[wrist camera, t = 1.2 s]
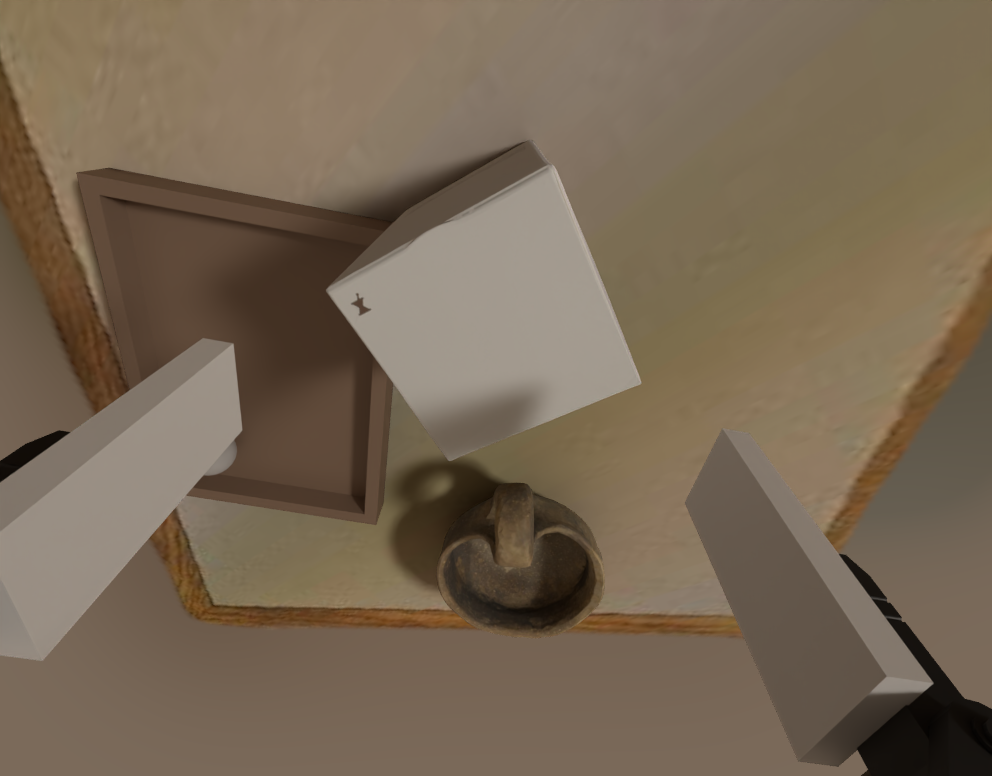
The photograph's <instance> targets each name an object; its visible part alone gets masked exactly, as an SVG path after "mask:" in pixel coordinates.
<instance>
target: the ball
mask: <svg viewBox="0 0 992 776" xmlns="http://www.w3.org/2000/svg"><path fill="white" fill-rule="evenodd" d="M236 454H237V446H236V443H235V441H233V442H232V443H231V444H230V445H229V446H228V447H227V449H226V450H225V451H224V452H223V453H222V454H221V456H220V457H219V458H218V459H217V460H216V461H215V462H214V464H213V465H212V466H211V467H210V468H209V469H208V471H207V472H206V473H205V474H204V475H206V476H210V475H216V474H219V473H221V472H223V471H225V470H226V469H228V468H229V467H230V466H231V465H232V463H233V462H234V460H235V458H236Z"/></svg>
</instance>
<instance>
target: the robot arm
mask: <svg viewBox="0 0 992 776" xmlns="http://www.w3.org/2000/svg"><path fill="white" fill-rule="evenodd" d="M241 431H242V421H241V412H240V402H239V392H238V383H237V373H236V363H235V354H234V344H233V343H228V342H223V341H217V340H211V339H205V338H202V339H201V340H200V341H198V342H197V343H195V344H194V345H193V346H191V347H190V348H188V349H187V350H186V351H184V352H183V353H181V354H180V355H179V356H177V357H176V358H174V359H173V360H172V361H170V362H169V363H167V364H166V365H165V366H163V367H162V368H160V369H159V370H158V371H156V372H155V373H153V374H152V375H150V376H149V377H148V378H146V379H145V380H143V381H142V382H141V383H139V384H138V385H136V386H135V387H134V388H132V389H131V390H129V391H128V392H127V393H125V394H124V395H122V396H121V397H120V398H118V399H117V400H115V401H114V402H113V403H111V404H110V405H108V406H107V407H106V408H104V409H103V410H101V411H100V412H99V413H97V414H96V415H94V416H93V417H92V418H90V419H89V420H87V421H86V422H85V423H83V424H82V425H80V426H79V427H77V428H76V429H75V430H73V431H72V432H66V431H56V432H54V433H52V434H49V435H47V436H44V437H42V438H39V439H37V440H34V441H32V442H29V443H27V444H25V445H24V446H22V447H20V448H19V449H17V450H16V451H15V452H13V453H11V454H10V455H8V456H7V457H5V458H4V459H3V460H1V461H0V655H2V656H10V657H17V658H25V659H32V660H40V661H43V660H44V658H45V657H46V656H47V655H48V654H49V653H50V652H51V650H52V649H53V648H54V647H55V646H56V645H57V643H58V642H59V641H60V640H61V639H62V638H63V637H64V635H65V634H66V633H67V632H68V631H69V630H70V628H71V627H72V626H73V625H74V624H75V623H76V621H77V620H78V619H79V618H80V617H81V616H82V615H83V614H84V612H85V611H86V610H87V609H88V608H89V607H90V605H91V604H92V603H93V602H94V600H96V598H97V597H98V596H99V595H100V594H101V593H102V591H103V590H104V589H105V588H106V587H107V586H108V585H109V584H110V582H111V581H112V580H113V579H114V578H115V577H116V575H117V574H118V573H119V572H120V571H121V570H122V569H123V567H124V566H125V565H126V564H127V563H128V562H129V560H130V559H131V558H132V557H133V556H134V555H135V554H136V552H137V551H138V550H139V549H140V548H141V547H142V545H143V544H144V543H145V542H146V541H147V540H148V539H149V537H150V536H151V535H152V534H153V533H154V532H155V530H156V529H157V528H158V527H159V526H160V525H161V524H162V522H163V521H164V520H165V519H166V518H167V517H168V515H169V514H170V513H171V512H172V511H173V510H174V509H175V507H176V506H177V505H178V504H179V503H180V502H181V501H182V499H183V498H184V497H185V496H186V495H187V494H188V492H189V491H190V490H191V489H192V488H193V487H194V486H195V484H196V483H197V482H198V481H199V480H200V479H201V477H202V476H203V475H204V474H205V473H206V472H207V471H208V469H209V468H210V467H211V466H212V465H213V464H214V462H215V461H216V460H217V459H218V458H219V457H220V456H221V454H222V453H223V452H224V451H225V450H226V449H227V447H228V446H229V445H230V444H231V443H232V442H233V441H234V439H235V438H236V437H237V436H238V435H239V434H240V432H241ZM685 504H686V507H687V509H688V511H689V513H690V516H691V518H692V520H693V523H694V525H695V527H696V529H697V532H698V534H699V536H700V538H701V541H702V543H703V545H704V548H705V550H706V552H707V554H708V557H709V559H710V561H711V564H712V566H713V568H714V570H715V573H716V575H717V577H718V580H719V582H720V584H721V586H722V589H723V591H724V593H725V596H726V598H727V600H728V602H729V605H730V607H731V609H732V611H733V614H734V616H735V618H736V621H737V623H738V625H739V627H740V630H741V632H742V634H743V637H744V639H745V641H746V643H747V645H748V648H749V650H750V652H751V655H752V657H753V659H754V661H755V664H756V666H757V669H758V670H759V673H760V675H761V678H762V680H763V682H764V684H765V687H766V689H767V691H768V694H769V696H770V698H771V700H772V703H773V705H774V707H775V710H776V712H777V714H778V716H779V719H780V721H781V723H782V726H783V728H784V730H785V732H786V735H787V737H788V739H789V741H790V744H791V746H792V748H793V751H794V753H795V755H796V757H797V760H798V761H800V762H807V763H815V764H822V765H830V766H837V767H838V766H839V765H840V764H842V763H843V762H844V761H845V760H846V759H847V758H849V757H850V756H851V755H852V754H853V753H854V752H856V751H857V750H858V752H859V754H860V755H861V757H862V759H863V761H864V763H865V765H866V766H867V768H868V770H867V771H866V772H865V773H864V774H862V775H861V776H992V709H991V708H989V707H987V706H985V705H983V704H981V703H979V702H975V701H971V700H967V699H964V697H963V696H962V695H961V694H960V693H959V691H958V690H957V689H956V687H955V686H954V685H953V683H952V682H951V681H950V680H949V678H948V677H947V676H946V674H945V673H944V672H943V671H942V670H941V668H940V667H939V665H938V664H937V663H936V661H935V660H934V659H933V658H932V656H931V655H930V654H929V652H928V651H927V650H926V649H925V647H924V646H923V644H922V643H921V642H920V641H919V640H918V638H917V637H916V636H915V634H914V633H913V632H912V630H911V629H910V628H909V626H908V625H907V624H906V623H905V622H902V621H901V618H902V617H901V616H900V615H899V613H898V612H897V611H896V609H895V608H894V607H893V606H892V604H891V603H887V598H886V596H885V595H884V594H883V593H882V591H881V590H880V589H879V587H878V586H877V585H876V583H875V582H874V581H873V580H872V579H871V577H870V576H869V575H868V574H867V573H866V572H865V571H863V570H862V569H861V568H860V567H859V566H858V565H857V564H856V563H854V562H853V561H852V560H851V559H850V558H849V557H848V556H846V555H843V554H838V553H837V551H836V550H835V549H834V547H833V546H832V545H831V543H830V542H829V541H828V539H827V538H826V537H825V535H824V534H823V532H822V531H821V530H820V528H819V527H818V526H817V524H816V523H815V522H814V520H813V519H812V518H811V516H810V515H809V513H808V512H807V511H806V509H805V508H804V507H803V505H802V504H801V503H800V501H799V500H798V499H797V497H796V496H795V495H794V493H793V492H792V490H791V489H790V488H789V486H788V485H787V484H786V482H785V481H784V480H783V478H782V477H781V476H780V474H779V473H778V471H777V470H776V469H775V467H774V466H773V465H772V463H771V462H770V461H769V459H768V458H767V457H766V455H765V454H764V452H763V451H762V450H761V448H760V447H759V446H758V444H757V443H756V442H755V440H754V439H753V438H752V436H751V435H750V433H746V432H740V431H735V430H729V429H723V428H722V430H721V432H720V434H719V436H718V438H717V440H716V442H715V444H714V446H713V448H712V450H711V452H710V454H709V456H708V458H707V460H706V462H705V464H704V466H703V468H702V470H701V472H700V474H699V476H698V478H697V480H696V481H695V483H694V485H693V487H692V489H691V491H690V493H689V495H688V497H687V499H686V501H685Z"/></svg>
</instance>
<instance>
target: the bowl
mask: <svg viewBox="0 0 992 776" xmlns="http://www.w3.org/2000/svg"><path fill="white" fill-rule="evenodd" d="M436 578H437V583H438V588H439V591H440V593H441V595H442V597H443V599H444V600H445V602H446V603H447V605H448V606H449V607H450V608H451V609H452V610H453V611H454V612H455V613H457V614H458V615H459V616H460V617H461V618H463V619H464V620H465V621H466V622H468V623H469V624H471V625H473V626H474V627H476V628H478V629H481V630H485V631H487V632H490V633H494V634H500V635H505V636H512V637H527V638H541V637H551V636H556V635H559V634H561V633H563V632H565V631H567V630H570V629H571V628H572V627H574V626H575V625H577V624H579V623H580V622H581V621H582V620H584V619H585V618H586V617H587V616H588V615H590V614H591V613H592V612H593V611H594V610H595V609H596V607H597V606H598V605H599V603H600V601H601V600H602V597H603V595H604V588H605V576H604V566H603V563H602V556H601V552H600V550H599V548H598V547H597V544H596V541H595V538H594V536H593V534H592V531H591V530H590V528H589V527H588V526H587V524H586V523H585V522H584V521H583V520H582V519H581V518H580V517H579V516H578V515H577V514H576V513H575V512H573V511H572V510H570V509H569V508H567V507H566V506H564V505H562V504H560V503H558V502H556V501H554V500H551V499H548V498H545V497H541V496H537V495H533V493H532V489H531V488H530V487H529V486H528V484H525V483H506V484H500V485H499V486H498V487H497V488H496V489H495V491H494V496H493V497H492V498H490V499H488V500H486V501H484V502H482V503H480V504H478V505H476V506H474V507H473V508H471V509H470V510H469V511H467V512H466V513H464V514H463V515H461V516H460V517H459V518H458V519H457V520H456V521H455V522H454V523H453V524H452V526H451V527H450V529H449V531H448V533H447V535H446V537H445V540H444V545H443V548H442V552H441V555H440V557H439V560H438V565H437V571H436Z"/></svg>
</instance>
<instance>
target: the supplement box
mask: <svg viewBox="0 0 992 776" xmlns="http://www.w3.org/2000/svg"><path fill="white" fill-rule="evenodd" d="M326 292H327V294H328V295H329V296H330V298H331V299H332V300H333V302H334V303H335V305H336V306H337V307H338V309H339V310H340V311H341V313H342V314H343V315H344V317H345V318H346V320H347V321H348V322H349V324H350V325H351V326H352V328H353V329H354V330H355V332H356V333H357V335H358V336H359V337H360V339H361V340H362V341H363V343H364V344H365V345H366V347H367V348H368V350H369V351H370V352H371V354H372V355H373V356H374V358H375V359H376V361H377V362H378V363H379V365H380V366H381V367H382V369H383V370H384V371H385V373H386V374H387V376H388V377H389V378H390V380H391V381H392V382H393V384H394V385H395V387H396V388H397V389H398V391H399V392H400V393H401V395H402V396H403V398H404V399H405V401H406V402H407V404H408V405H409V406H410V408H411V409H412V411H413V412H414V414H415V415H416V417H417V418H418V419H419V421H420V422H421V424H422V425H423V427H424V428H425V430H426V431H427V433H428V434H429V435H430V437H431V438H432V439H433V441H434V442H435V444H436V445H437V446H438V448H439V449H440V450H441V452H442V453H443V454H444V456H445V457H446V458H447V460H448V461H452V460H454V459H456V458H459V457H461V456H463V455H466V454H468V453H471V452H473V451H476V450H478V449H480V448H483V447H485V446H488V445H490V444H493V443H495V442H498V441H500V440H503V439H505V438H508V437H510V436H513V435H515V434H518V433H520V432H523V431H525V430H528V429H530V428H533V427H535V426H538V425H540V424H543V423H545V422H548V421H550V420H553V419H555V418H558V417H560V416H563V415H565V414H568V413H570V412H572V411H575V410H577V409H580V408H582V407H585V406H587V405H590V404H592V403H595V402H597V401H599V400H602V399H604V398H607V397H609V396H612V395H614V394H617V393H619V392H622V391H624V390H627V389H629V388H632V387H635V386H637V385H640V384H641V380H640V377H639V374H638V371H637V369H636V366H635V364H634V362H633V359H632V357H631V354H630V351H629V349H628V346H627V344H626V341H625V339H624V336H623V333H622V331H621V328H620V326H619V323H618V321H617V318H616V315H615V313H614V310H613V308H612V305H611V302H610V300H609V297H608V295H607V292H606V290H605V287H604V285H603V282H602V280H601V277H600V275H599V272H598V270H597V267H596V265H595V262H594V260H593V258H592V255H591V253H590V250H589V248H588V245H587V243H586V241H585V238H584V236H583V234H582V231H581V229H580V226H579V224H578V222H577V219H576V217H575V214H574V212H573V210H572V207H571V205H570V203H569V200H568V198H567V195H566V193H565V190H564V188H563V185H562V183H561V180H560V178H559V175H558V172H557V170H556V168H555V166H554V165H552V164H551V163H550V162H549V161H548V160H547V159H546V158H545V156H544V155H543V154H542V152H541V151H540V150H539V149H538V147H537V146H536V144H535V143H534V141H532V140H529V141H526V142H524V143H523V144H521V145H519V146H517V147H515V148H514V149H512V150H510V151H508V152H507V153H505V154H503V155H501V156H500V157H498V158H496V159H494V160H493V161H491V162H489V163H487V164H486V165H484V166H482V167H480V168H479V169H477V170H475V171H473V172H472V173H470V174H468V175H466V176H465V177H463V178H461V179H459V180H458V181H456V182H454V183H452V184H451V185H449V186H447V187H445V188H444V189H442V190H440V191H438V192H437V193H435V194H433V195H431V196H430V197H428V198H426V199H424V200H423V201H421V202H419V203H418V204H416V205H414V206H412V207H411V208H409V209H408V210H406V211H405V212H404V213H403V214H402V215H401V216H400V217H399V218H398V219H397V220H396V221H395V222H393V223H392V224H391V225H390V226H389V227H388V228H387V229H386V230H385V231H384V232H383V233H382V234H381V235H380V236H379V237H378V238H377V239H376V240H375V241H374V242H373V243H372V244H371V245H370V246H369V247H368V248H367V249H366V250H365V251H364V252H363V253H362V254H361V255H360V256H359V257H358V258H357V259H356V260H355V261H354V262H353V263H352V264H351V265H350V266H349V267H348V268H347V269H346V270H345V271H344V272H343V273H342V274H341V275H340V276H339V277H338V278H337V279H336V280H335V281H334V282H333V283H332V284H331V285H330V286H329V287H328V288H327V289H326Z"/></svg>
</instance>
